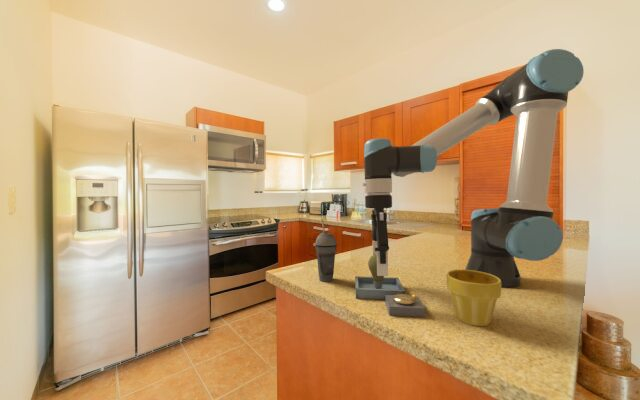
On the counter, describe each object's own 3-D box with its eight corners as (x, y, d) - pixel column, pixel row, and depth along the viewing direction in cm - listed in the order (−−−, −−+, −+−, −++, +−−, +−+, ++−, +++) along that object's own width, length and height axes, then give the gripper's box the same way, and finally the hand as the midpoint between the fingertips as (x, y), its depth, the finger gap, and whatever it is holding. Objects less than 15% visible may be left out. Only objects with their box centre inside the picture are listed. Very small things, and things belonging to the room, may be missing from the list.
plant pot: (479, 336, 50) (479, 286, 50) (436, 313, 60) (436, 272, 60) (511, 325, 54) (512, 279, 54) (467, 306, 64) (467, 267, 64)
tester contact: (412, 296, 64) (412, 294, 64) (417, 305, 59) (417, 302, 59) (391, 296, 65) (391, 293, 65) (395, 304, 60) (395, 301, 60)
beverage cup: (335, 283, 80) (335, 220, 80) (312, 282, 82) (312, 220, 81) (338, 276, 87) (338, 218, 87) (317, 275, 89) (317, 218, 88)
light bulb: (390, 292, 71) (390, 256, 71) (370, 292, 71) (370, 256, 71) (385, 285, 76) (385, 252, 76) (366, 285, 76) (366, 252, 76)
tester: (417, 304, 65) (417, 293, 65) (425, 317, 58) (425, 305, 58) (385, 302, 66) (385, 292, 66) (389, 315, 59) (389, 303, 59)
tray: (398, 285, 78) (398, 277, 78) (405, 300, 67) (405, 291, 67) (355, 284, 80) (355, 276, 80) (355, 298, 69) (355, 289, 69)
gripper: (363, 194, 86) (364, 257, 86) (367, 194, 61) (369, 282, 62) (385, 194, 85) (387, 257, 85) (400, 193, 60) (401, 283, 61)
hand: (379, 268), depth 73 cm, fingers open, 13 cm apart
